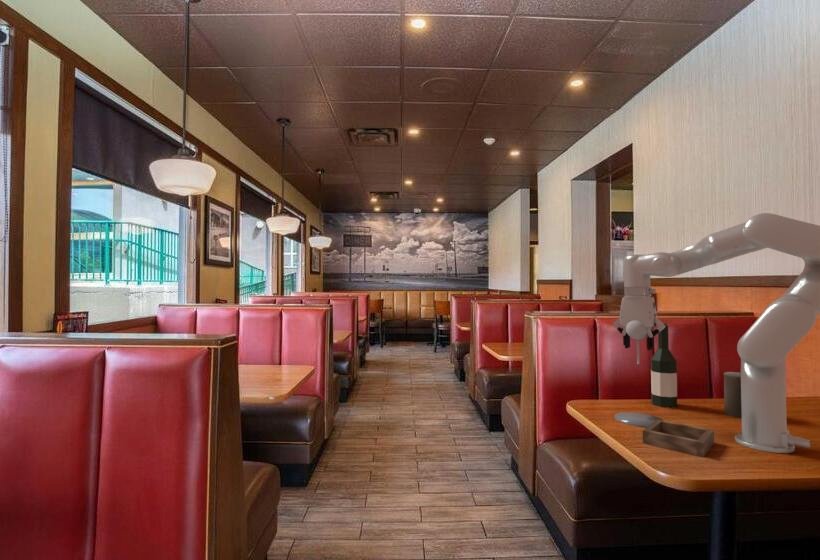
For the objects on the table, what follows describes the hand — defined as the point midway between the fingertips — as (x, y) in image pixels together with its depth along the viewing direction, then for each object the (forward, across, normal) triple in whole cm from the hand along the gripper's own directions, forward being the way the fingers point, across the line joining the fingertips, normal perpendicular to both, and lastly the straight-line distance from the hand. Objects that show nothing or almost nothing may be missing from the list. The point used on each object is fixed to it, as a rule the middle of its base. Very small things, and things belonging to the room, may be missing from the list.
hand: (638, 348), depth 138 cm
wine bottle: (+24, -1, -26) cm, 35 cm away
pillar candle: (+24, -23, -31) cm, 45 cm away
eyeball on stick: (+5, 0, 0) cm, 5 cm away
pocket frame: (+23, -14, +14) cm, 31 cm away
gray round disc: (+23, 0, 0) cm, 23 cm away
